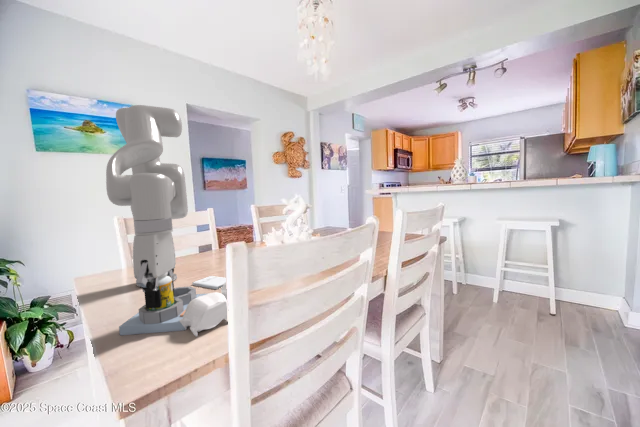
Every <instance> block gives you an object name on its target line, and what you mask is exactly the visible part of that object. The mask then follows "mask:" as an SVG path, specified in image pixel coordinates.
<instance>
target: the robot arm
mask: <svg viewBox="0 0 640 427" xmlns="http://www.w3.org/2000/svg"><path fill="white" fill-rule="evenodd" d="M115 119H116V123H117V126H118V129H119V131H120V133H121V134H120V135H121V136H122V138H123V139H124V141H125V142H126V144H124V145H123V146H122V147H120V148H118V149H117V150H116V151H115V152H114V153H113V154H112V155H111V157H110V158H109V160H108V162H107V165H106V167H105V172H106V173H105V174H106V175H105V176H106V178H105V180H106V181H105V183H106V186H105V187H106V194H107V198H108V199H109V201H110V202H111V203H112V204H113V205H115V206H120V207H129V206H130V211H131V214H132V218H133V227H134V236H133V245H132V264H133V266H132V267H133V275H134V279H136V280H135V283H136V287H139V288H141V289H142V292H143V294H144V300H145V301H144V302H145V304H146V308H159V307H161V306H162V303H161V292H160V290H158V284H159V277H160V276H161V275H163V274H164V273H166V272H168V274H167V276H169V277H171V279H172V286H173V296H174V295H175V294H174V288H175V287H174V286H175V285H174V284H175V283H174V281H175V280H177V279H178V275H177V274H176V273H174V272H175V268H176V263H177V260H176V250H175V243H174V238H173V234H172V232H174V230H173V220H180V219H184V218H185V217H187V215H188V210H189V206H188V198H187V196H188V195H187V186H186V176H185V172H184V170H183V168H182V167H181V165H179V164H177V163H163V162H161V160H160V159H161V158H160V156H162V155H163V152H164V146H163V140H162V139H163V138H165V137H166V138H179V137H180V136H181V135H182V130H183V123H182V118H181V116H180V114H179V113H178V111H177V110H175V109H174V108H170V107H163V106H153V105H145V104H135V105H131V106H129V107H121V108H119V109H117V110H116V112H115ZM129 169H131V173H132V174H124V172H126V171H127V170H129ZM150 274H153V276H152V277H148V276H149V275H150ZM149 280H154V281H153V284H152V283H151V282H149Z"/></svg>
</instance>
